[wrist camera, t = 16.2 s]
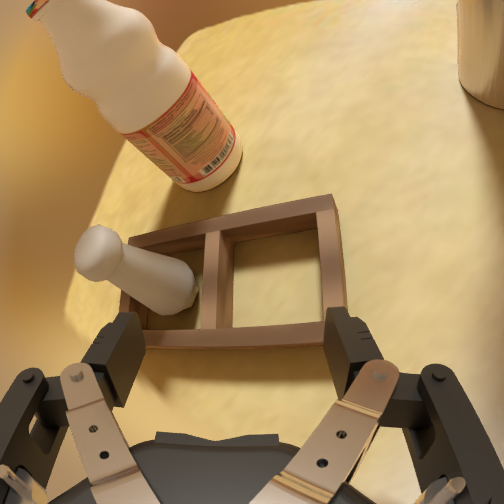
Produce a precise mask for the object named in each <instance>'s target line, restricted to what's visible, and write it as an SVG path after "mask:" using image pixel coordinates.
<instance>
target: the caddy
mask: <svg viewBox="0 0 504 504" xmlns="http://www.w3.org/2000/svg"><path fill="white" fill-rule="evenodd" d="M316 228H318V238H319V250H320V263H321V277H322V294H323V312H324V321H321V322H310V323H299V324H287V325H273V326H259V327H242V328H232V313H233V270H234V242H240V241H246V240H252V239H257V238H263V237H269V236H275V235H281V234H286V233H292V232H298V231H304V230H310V229H316ZM128 245H130V246H134V247H137V248H140V249H144V250H147V251H150V252H154V253H158V254H162V255H168V254H173V253H179V252H184V251H190V250H195V249H201V248H205V253H204V269H203V286H202V307H201V329H192V330H146V329H147V316H148V307H147V306H145V305H144V304H142V303H141V302H139V301H138V300H136V299H134V298H133V297H131V296H130V295H128V294H127V293H126V292H124V291H123V290H121V297H120V306H119V312H136V313H137V314H138V316H139V319H140V323H141V327H142V331H143V335H144V339H145V344H146V348H153V349H189V350H230V349H267V348H288V347H304V346H318V345H324V342H323V339H324V328H325V318H326V310H327V308H328V307H341V306H345V307H346V309H347V311H348V306H347V293H346V280H345V269H344V259H343V250H342V241H341V232H340V224H339V216H338V209H337V207H336V204H335V201H334V199H333V196H332V194H327V195H321V196H316V197H311V198H306V199H300V200H295V201H290V202H285V203H280V204H275V205H270V206H265V207H261V208H256V209H251V210H246V211H242V212H237V213H232V214H228V215H223V216H219V217H214V218H210V219H205V220H201V221H196V222H192V223H188V224H183V225H179V226H175V227H171V228H166V229H162V230H158V231H154V232H150V233H146V234H142V235H138V236H134V237H130V238H129V240H128Z"/></svg>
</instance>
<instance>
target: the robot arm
mask: <svg viewBox="0 0 504 504" xmlns="http://www.w3.org/2000/svg"><path fill="white" fill-rule="evenodd" d="M456 7H457V28H458V64H459V72H458V74H459V80H460V82H461V84H462V86H463V87H464V88H465V89H466V90H467V92H468V93H470V94H471V95H472V96H473V97H475V98H476V99H478V100H479V101H481V102H483V103H485V104H487V105H490V106H493V107H496V108H500V109H504V0H458V3H457V5H456ZM323 342H324V351H325V355H326V358H327V361H328V365H329V368H330V372H331V375H332V378H333V382H334V385H335V389H336V392H337V396H338V399H337V400H336V401H335V403H334V404H333V405H332V407H331V408H330V410H329V411H328V412H327V414H326V415H325V417H324V418H323V420H322V421H321V422H320V424H319V425H318V426H317V428H316V429H315V430H314V432H313V433H312V434H311V436H310V437H309V438H308V440H307V441H306V442H305V444H304V445H303V446H302V447H301V448H299V447H297V446H294V445H291V444H287V443H282V442H279V437H278V434H264V435H245V436H240V437H236V438H231V439H226V440H220V441H211V440H207V439H203V438H199V437H195V436H192V435H188V434H182V433H168V432H156V436H155V440H150V441H145V442H142V443H139V444H136V445H134V446H132V447H129V445H128V443H127V441H126V439H125V438H124V435H123V433H122V431H121V429H120V428H119V425H118V423H117V421H116V419H115V417H114V415H113V413H112V410H113V407H122V408H124V406H125V403H126V401H127V398H128V395H129V393H130V390H131V388H132V385H133V383H134V380H135V377H136V375H137V372H138V370H139V367H140V365H141V362H142V360H143V357H144V355H145V350H146V344H145V339H144V335H143V331H142V327H141V323H140V319H139V316H138V314H137V313H136V312H119V313H118V315H117V317H116V318H115V320H114V321H113V323H108V324H107V325H106V326H104V327H103V328H102V329H101V330H100V332H99V333H98V335H97V338H95V340H94V341H93V344H91V346H90V348H89V349H88V351H87V352H86V354H85V356H84V357H83V359H82V361H81V362H80V363H75V364H72V365H69V366H68V367H66V368H65V369H64V370H63V371H62V373H61V375H60V376H57V377H48V378H45V376H44V374H43V372H42V371H41V370H40V369H38V368H29V369H26V370H24V371H22V372H21V373H20V374H18V376H17V377H16V379H15V380H14V382H13V383H12V385H11V386H10V388H9V390H8V391H7V393H6V394H5V396H4V398H3V399H2V401H1V403H0V504H376V503H375V502H373V501H372V500H370V499H369V498H368V497H366V496H365V495H363V494H362V493H361V492H359V491H358V490H357V489H355V488H354V487H353V486H351V485H350V483H351V481H352V479H353V478H354V476H355V474H356V472H357V470H358V468H359V467H360V465H361V463H362V461H363V459H364V457H365V455H366V454H367V452H368V450H369V448H370V446H371V444H372V442H373V441H374V439H375V437H376V435H377V433H378V431H379V429H380V427H381V426H382V427H396V428H402V430H403V433H404V436H405V439H406V442H407V445H408V449H409V452H410V455H411V458H412V462H413V465H414V468H415V472H416V475H417V479H418V482H419V486H420V489H421V493H422V494H421V495H420V497H419V498H418V499H417V500H416V501H415V502H414V504H504V469H503V467H502V465H501V463H500V460H499V458H498V456H497V454H496V452H495V450H494V447H493V445H492V443H491V441H490V439H489V437H488V435H487V433H486V431H485V429H484V427H483V425H482V423H481V421H480V419H479V417H478V415H477V414H476V412H475V410H474V408H473V406H472V404H471V402H470V401H469V399H468V397H467V395H466V393H465V391H464V390H463V388H462V386H461V384H460V383H459V381H458V379H457V377H456V376H455V374H454V372H453V371H452V370H451V369H450V368H448V367H446V366H444V365H441V364H430V365H427V366H426V367H424V368H423V370H422V372H421V374H407V373H401V372H399V370H398V368H397V367H396V366H395V365H394V364H393V363H391V362H389V361H386V360H384V358H383V356H382V354H381V352H380V350H379V348H378V346H377V344H376V342H375V341H374V339H373V337H372V335H371V333H370V331H369V329H368V327H367V325H366V323H365V322H363V321H362V320H361V319H359V318H358V317H350V315H349V313H348V311H347V309H346V307H345V306H341V307H328V308H327V310H326V318H325V328H324V339H323ZM34 415H35V416H36V418H37V420H36V422H35V424H34V426H33V428H32V430H31V433H30V434H29V424H30V422H31V420H32V418H33V416H34ZM69 426H70V429H71V432H72V435H73V438H74V441H75V444H76V447H77V449H78V452H79V455H80V457H81V461H82V463H83V466H84V469H85V471H86V474H87V476H88V477H87V478H86V479H84V480H82V481H81V482H79V483H78V484H76V485H75V486H73V487H72V488H70V489H69V490H67V491H66V492H64V493H63V494H61V495H60V496H58V497H56V498H55V499H53V500H52V501H50V502H49V503H48V494H47V492H46V490H45V489H46V486H47V483H48V480H49V477H50V475H51V472H52V469H53V466H54V463H55V461H56V458H57V455H58V452H59V450H60V447H61V444H62V442H63V439H64V437H65V434H66V432H67V429H68V427H69Z"/></svg>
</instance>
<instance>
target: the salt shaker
mask: <svg viewBox="0 0 504 504" xmlns="http://www.w3.org/2000/svg"><path fill="white" fill-rule="evenodd" d="M74 263H75V267H76V270H77V272H78V273H79V274H81V275H82V276H84V277H85V278H87V279H88V280H91V281H94V282H99V281H104V280H106V279H107V280H108V281H110V282H111V283H112V284H114V285H115V286H117V287H118V288H120V289H121V290H123V291H124V292H126V293H127V294H128V295H130V296H131V297H133V298H134V299H136V300H138V301H139V302H141V303H142V304H144V305H145V306H147V307H148V308H149V309H151V310H152V311H154V312H156V313H157V314H159V315H162V316H165V315H175V314H177V313H179V312H180V311H182V310H184V309H187V308H189V307H192V305H193V303H194V301H195V298H196V296H197V294H198V291H199V289H198V286H197V284H196V281H195V277H194V274H193V272H192V270H191V269H190V268H189V266H188V265H187V264H186V263H185V262H184V261H182V260H179V259H177V258H173V257H170V256H166V255H162V254H158V253H154V252H150V251H147V250H144V249H140V248H137V247H134V246H130V245H127V244H124V243H122V241H121V239H120V237H119V235H118V234H117V232H115V231H113V230H112V229H110V228H107V227H104V226H101V225H96V226H93V227H91V228H88V229H87V230H86V231H85V232H84V233H83V234H82V236H81V237H80V239H79V241H78V242H77V245H76V248H75V252H74Z"/></svg>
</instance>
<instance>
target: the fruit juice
mask: <svg viewBox="0 0 504 504" xmlns="http://www.w3.org/2000/svg"><path fill="white" fill-rule="evenodd" d="M26 12H27V14H28V15H29V17H30V18H33V19H34V20H35V21H40V22H42V23H43V25H44V26H45V27H46V29H47V31H48V33H49V35H50V37H51V39H52V41H53V44H54V46H55V48H56V51H57V53H58V56H59V60H60V67H61V73H62V76H63V79H64V80H65V82H66V83H67V84H68V85H69V86H70V88H72V90H74V91H75V92H77V93H79V94H81V95H83V96H85V97H88V98H90V99H92V100H93V101H94V102H95V103H96V105H97V108H98V110H99V112H100V114H101V115H102V116H103V118H104V119H105V120H106V121H107V122H108V123H109V124H110V125H111V126H112V127H113V128H114V129H115V130H116V131H118V132H119V133H120V134H121V135H123V136H124V137H125V138H126V139H127V140H128V141H129V142H130V143H132V144H133V145H134V146H135V147H136V148H137V149H138V150H139V151H141V152H142V153H143V154H144V155H145V156H146V157H147V158H149V159H150V160H151V161H152V162H153V163H154V164H155V165H156V166H158V167H159V168H160V169H161V170H162V171H163V172H164V173H166V174H167V175H168V176H169V177H170V178H171V179H172V180H173V181H175V182H176V183H177V184H178V185H179V186H181V187H182V188H184V189H186V190H189V191H193V192H202V191H206V190H209V189H212V188H214V187H216V186H218V185H219V184H221V183H222V182H224V181H225V180H226V179H227V178H228V177H229V176H230V175H231V174H232V173H233V172H234V170H235V169H236V168H237V166H238V164H239V162H240V159H241V156H242V143H241V140H240V138H239V136H238V134H237V132H236V131H235V129H234V128H233V127H232V125H231V124H230V122H229V121H228V120H227V118H226V117H225V115H224V114H223V113H222V111H221V110H220V109H219V107H218V106H217V105H216V103H215V102H214V100H213V99H212V98H211V96H210V95H209V94H208V92H207V91H206V90H205V88H204V87H203V86H202V84H201V83H200V82H199V81H198V79H197V78H196V77H195V75H194V74H193V73H192V71H191V70H190V68H189V67H188V66H187V64H186V63H185V62H184V61H183V60H182V59H181V58H180V56H179V55H178V54H177V53H176V52H175V51H173V50H172V49H171V48H169V47H167V46H165V45H163V44H161V43H160V41H159V40H158V38H157V36H156V33H155V31H154V28H153V26H152V24H151V22H150V21H149V20H148V19H147V18H146V17H145V16H144V15H143V14H142V13H141V12H139V11H137V10H135V9H131V8H126V7H122V6H118V5H115V4H113V3H110V2H108V1H106V0H35V1H34V2H33V3H32V4H31V5H30V6H29V7H28V9H27V10H26Z"/></svg>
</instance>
